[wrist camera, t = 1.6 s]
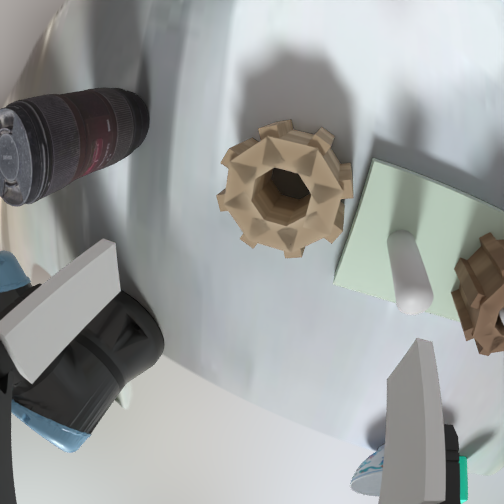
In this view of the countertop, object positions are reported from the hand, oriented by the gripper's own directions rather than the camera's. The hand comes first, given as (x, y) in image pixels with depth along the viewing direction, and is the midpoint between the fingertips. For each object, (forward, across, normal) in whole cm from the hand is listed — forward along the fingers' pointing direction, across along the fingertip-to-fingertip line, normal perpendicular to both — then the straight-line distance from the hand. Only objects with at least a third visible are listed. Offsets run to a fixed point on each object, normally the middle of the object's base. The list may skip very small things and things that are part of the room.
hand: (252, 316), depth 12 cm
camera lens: (+17, -20, +3) cm, 26 cm away
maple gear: (+17, -2, +1) cm, 17 cm away
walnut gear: (+15, +20, -2) cm, 25 cm away
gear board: (+17, +15, -2) cm, 23 cm away
